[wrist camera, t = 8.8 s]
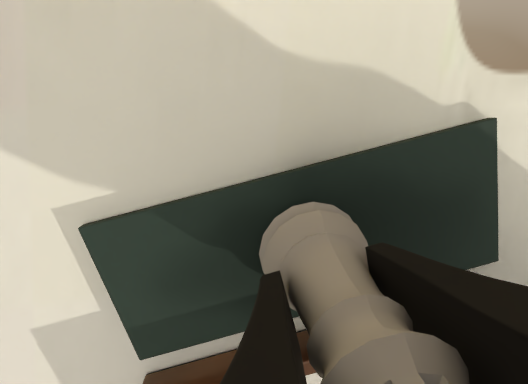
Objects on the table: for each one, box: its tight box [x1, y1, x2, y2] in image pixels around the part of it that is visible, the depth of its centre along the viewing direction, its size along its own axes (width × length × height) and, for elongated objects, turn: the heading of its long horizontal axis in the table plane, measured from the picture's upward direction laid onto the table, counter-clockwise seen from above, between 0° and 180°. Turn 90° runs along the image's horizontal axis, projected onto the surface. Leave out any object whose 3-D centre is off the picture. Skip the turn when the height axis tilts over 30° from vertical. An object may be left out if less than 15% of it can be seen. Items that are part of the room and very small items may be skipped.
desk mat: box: [78, 118, 498, 360], centre depth 13 cm, size 18×7×1 cm, turn 104°
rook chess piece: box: [259, 202, 470, 384], centre depth 9 cm, size 4×4×8 cm
